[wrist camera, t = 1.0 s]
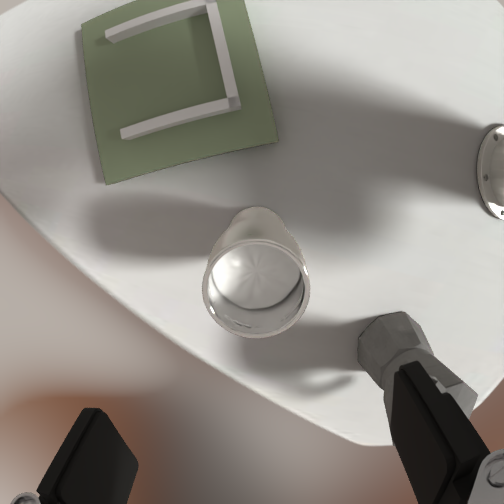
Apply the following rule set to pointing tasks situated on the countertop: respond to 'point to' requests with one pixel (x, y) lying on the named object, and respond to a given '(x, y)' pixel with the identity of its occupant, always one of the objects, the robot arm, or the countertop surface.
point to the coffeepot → (406, 359)
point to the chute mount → (174, 84)
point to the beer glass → (256, 276)
